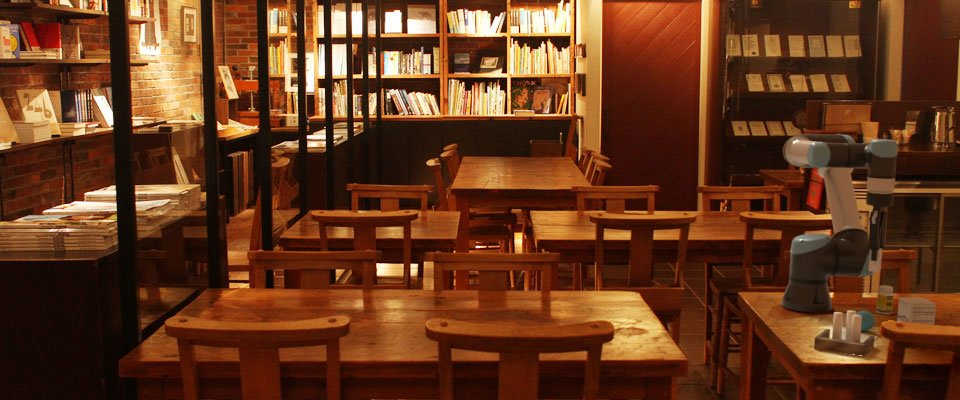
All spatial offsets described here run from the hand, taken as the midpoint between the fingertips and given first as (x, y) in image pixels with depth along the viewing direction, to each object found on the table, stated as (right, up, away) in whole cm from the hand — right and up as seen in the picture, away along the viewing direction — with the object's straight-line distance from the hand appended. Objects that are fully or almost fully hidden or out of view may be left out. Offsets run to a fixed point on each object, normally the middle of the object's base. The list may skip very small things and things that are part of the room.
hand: (874, 270), depth 307 cm
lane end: (-17, -20, -24) cm, 36 cm away
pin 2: (-14, -20, -24) cm, 34 cm away
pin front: (-14, -19, -19) cm, 30 cm away
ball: (-5, -14, -6) cm, 16 cm away
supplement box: (+4, -20, -19) cm, 27 cm away
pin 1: (-19, -19, -21) cm, 34 cm away
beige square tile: (-10, -18, -13) cm, 25 cm away
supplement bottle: (+10, -15, +18) cm, 25 cm away
